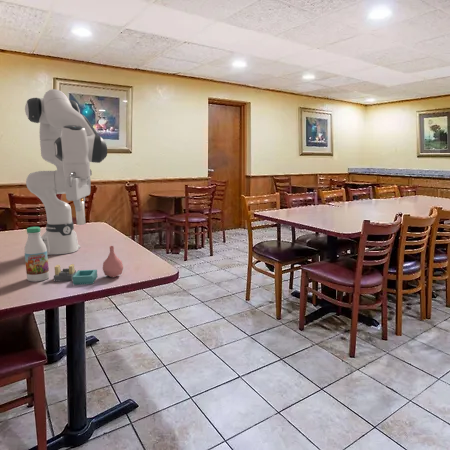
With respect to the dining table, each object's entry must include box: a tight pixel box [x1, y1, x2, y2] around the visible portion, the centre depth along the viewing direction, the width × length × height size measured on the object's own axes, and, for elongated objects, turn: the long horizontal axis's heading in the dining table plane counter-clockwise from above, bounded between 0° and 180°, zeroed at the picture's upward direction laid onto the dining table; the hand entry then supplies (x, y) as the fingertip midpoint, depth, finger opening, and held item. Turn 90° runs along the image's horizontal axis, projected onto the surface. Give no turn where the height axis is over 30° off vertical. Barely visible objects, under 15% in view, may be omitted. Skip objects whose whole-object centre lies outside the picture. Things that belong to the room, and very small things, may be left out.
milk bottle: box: [24, 226, 50, 282], centre depth 147 cm, size 8×8×20 cm
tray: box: [72, 269, 98, 286], centre depth 146 cm, size 7×8×3 cm
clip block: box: [53, 263, 77, 282], centre depth 149 cm, size 6×6×5 cm
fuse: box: [75, 198, 86, 226], centre depth 141 cm, size 3×3×9 cm
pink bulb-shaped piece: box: [102, 245, 124, 278], centre depth 150 cm, size 8×8×12 cm
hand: (80, 210), depth 141 cm, fingers closed on fuse, 3 cm apart
